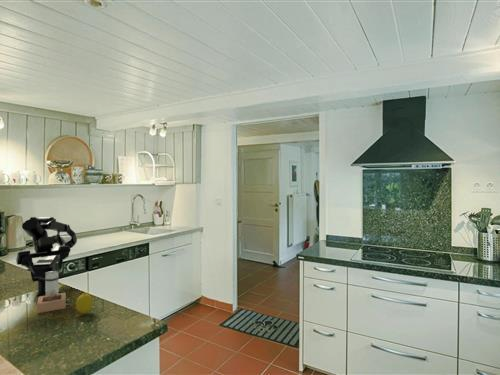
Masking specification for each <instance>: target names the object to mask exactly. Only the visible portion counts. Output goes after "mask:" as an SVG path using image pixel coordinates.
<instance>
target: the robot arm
mask: <svg viewBox="0 0 500 375" xmlns="http://www.w3.org/2000/svg"><path fill="white" fill-rule="evenodd" d="M70 226H71V225H70V224H67V223H62V222H60V221H57V219H56V218H54V216H53V217H52V216H48V217H46V216H44V217H43V216H42V217H40V216H38V217H36V216H31V217H30V218H29V219H27V220H26V221H24V222H23V223H22V225H21V229H23V231H24V232H25V233H26V234H27V236H29V237H31V239H32V243H33V246H34V247H33V248H34V252H31V250H21V251H18V252H17V254H16V258H15V259H16V265H18V266H19V265H20V266H22V267H23V266H24V267H25V268H27V269H28V270H29V271H30V277H31V280H32V282H33V283H34V282H37V292H36V296H35V297H41V296H46V284H45V273H46V272H49V271H57V269H56V268H55V266H56V264H58V268H59V270H62V267H63V261H64V260H65V259H66V258H68V257H69V255H70V252H71V249H72V248H73V247H75V245H76V244H77V242H78V239H77V238H78V237H77V235H76V232H75V231H74V230H73V229H72V228H71V227H70ZM47 230H51V231H56V233H57V234H55V235H52V236H49V235H48V231H47ZM60 233H66V234H68V235H66V234H65V235H61V234H60ZM55 244H56V246H55V247H54V245H55ZM36 258H45V259H39V260H38V259H37V261H36V262H35V263H34V261H33V259H36Z"/></svg>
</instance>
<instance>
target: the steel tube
mask: <svg viewBox="0 0 500 375" xmlns="http://www.w3.org/2000/svg"><path fill="white" fill-rule="evenodd" d="M59 279H60V276H59V270H56V271H49V272H46V273H45V284H46V295H45V296H46V302H47V301H52V300H58V299H59V294H60V293H59V290H60V289H59Z"/></svg>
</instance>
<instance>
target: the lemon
mask: <svg viewBox="0 0 500 375" xmlns="http://www.w3.org/2000/svg"><path fill="white" fill-rule="evenodd" d="M93 303H94V302H93V298H92V296H91V295H90V294H88V293H85V292H83V293H82V294H81V295H79V296H78V298H76V302H75V307H76V310H77V312H78V313H79V314H83V315H86V314H87V313H88V312H90V310H92V308H93Z"/></svg>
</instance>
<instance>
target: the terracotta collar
mask: <svg viewBox="0 0 500 375" xmlns="http://www.w3.org/2000/svg"><path fill="white" fill-rule="evenodd" d="M37 299H38V300H37V303H36V306H37V307H36V310H37V312H36V313H37V314H43V313H47V312H53V311H57V310H64V309H66V308H67V305H66V304H67V300H66V299H67V297H66V292H60V293H59V299H58V300H52V301H47V302H46V295H42V296H38V298H37Z"/></svg>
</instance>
